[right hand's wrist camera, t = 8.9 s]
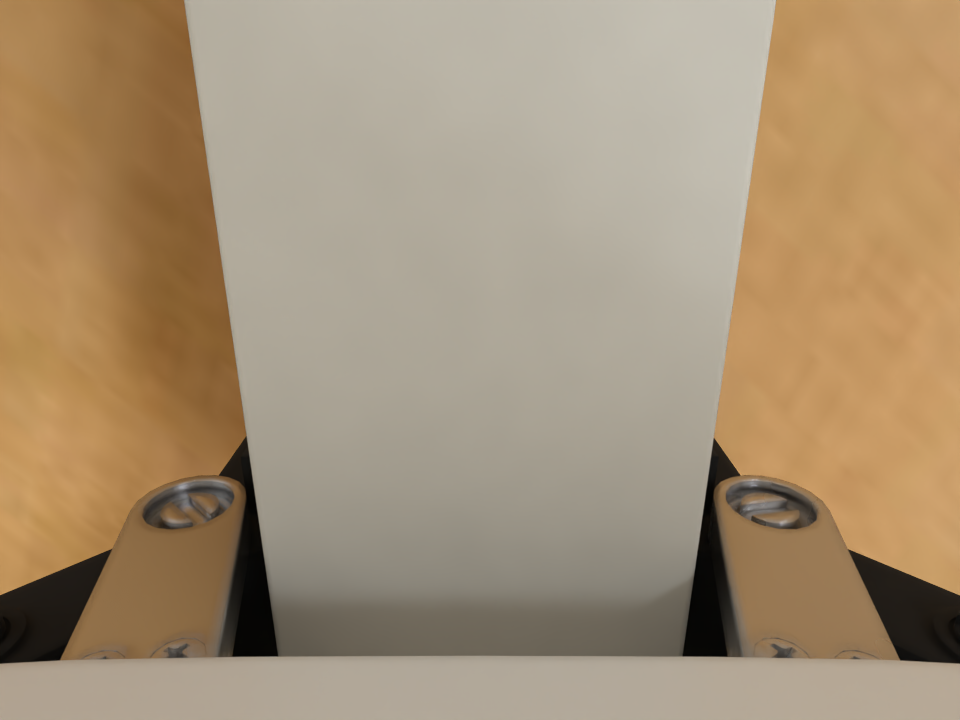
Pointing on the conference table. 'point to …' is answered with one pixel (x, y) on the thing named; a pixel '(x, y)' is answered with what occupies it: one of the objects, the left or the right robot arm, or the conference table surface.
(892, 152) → the conference table surface
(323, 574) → the bar
